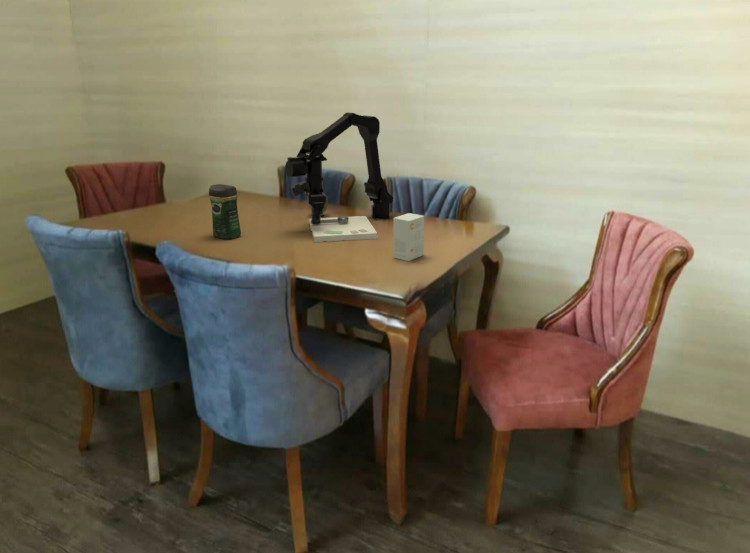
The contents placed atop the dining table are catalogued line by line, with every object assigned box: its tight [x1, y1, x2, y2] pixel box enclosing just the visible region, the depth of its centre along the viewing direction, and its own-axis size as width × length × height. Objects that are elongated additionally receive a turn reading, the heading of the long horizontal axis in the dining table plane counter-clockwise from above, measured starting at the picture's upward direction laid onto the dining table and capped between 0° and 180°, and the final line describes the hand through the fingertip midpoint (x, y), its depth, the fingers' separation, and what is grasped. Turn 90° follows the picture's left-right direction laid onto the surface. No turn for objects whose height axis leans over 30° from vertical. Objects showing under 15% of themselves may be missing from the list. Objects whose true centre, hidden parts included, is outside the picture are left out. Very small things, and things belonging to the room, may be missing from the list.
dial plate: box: [308, 215, 378, 243], centre depth 210 cm, size 22×25×2 cm
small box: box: [392, 212, 425, 262], centre depth 179 cm, size 8×6×13 cm
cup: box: [320, 194, 329, 218], centre depth 230 cm, size 8×7×8 cm
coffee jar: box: [208, 183, 242, 240], centre depth 201 cm, size 10×8×19 cm
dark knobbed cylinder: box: [310, 205, 350, 224], centre depth 210 cm, size 14×4×9 cm, turn 100°
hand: (316, 216), depth 210 cm, fingers open, 9 cm apart
